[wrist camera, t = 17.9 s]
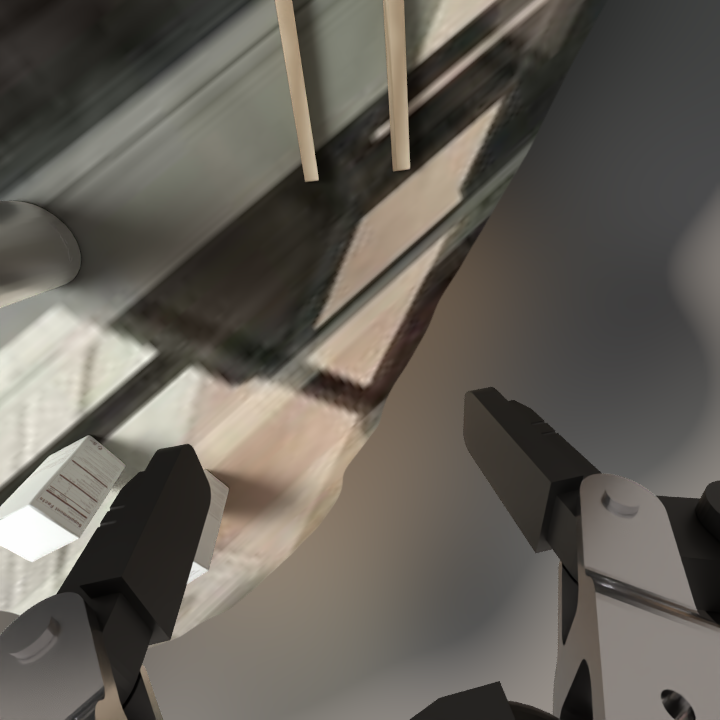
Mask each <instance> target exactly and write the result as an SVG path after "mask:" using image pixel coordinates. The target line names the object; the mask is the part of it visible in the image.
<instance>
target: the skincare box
mask: <svg viewBox="0 0 720 720" xmlns="http://www.w3.org/2000/svg"><path fill="white" fill-rule="evenodd" d="M204 473H205V475H206V477H207V479H208V482H209V484H210V489H211V503H210V507H209V511H208V514H207V518H206V521H205V524H204V528H203V531H202V534H201V538H200V541H199V545H198V548H197V551H196V555H195V558H194V561H193V565H192V568H191V572H190V575H189V578H188V582H187V584H188V583H190V582H191V581H193V580H195V579H196V578H198V577H199V576H201V575H202V574H204V573H206V572H207V571H209V567H210V563H211V559H212V555H213V551H214V547H215V543H216V539H217V536H218V532H219V528H220V524H221V520H222V516H223V512H224V508H225V504H226V500H227V496H228V492H229V488H228V487H227V486H226V485H225V484H223V483H222V482H221V481H220V480H218V479H217V478H216V477H215V476H213V475H212V474H211V473H210V472H208V471H207V470H204Z"/></svg>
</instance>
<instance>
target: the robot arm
mask: <svg viewBox="0 0 720 720" xmlns="http://www.w3.org/2000/svg"><path fill="white" fill-rule="evenodd" d="M80 265H81V254H80V249H79V246H78V244H77V241H76V239H75V238H74V236H73V234H72V233H71V231H70V230H69V229H68V228H67V227H66V225H65V224H64V223H63V222H61V221H60V220H59V219H58V218H57V217H56V216H54V215H53V214H51V213H50V212H48V211H47V210H45V209H43V208H40V207H38V206H36V205H33V204H30V203H26V202H20V201H0V308H3V307H5V306H8V305H11V304H14V303H16V302H19V301H22V300H24V299H27V298H30V297H33V296H35V295H38V294H41V293H44V292H47V291H49V290H52V289H54V288H57V287H60V286H62V285H65V284H67V283H69V282H70V281H71V280H73V279H74V277H75V276H76V275H77V274H78V271H79V269H80ZM464 402H465V403H464V427H463V435H464V440H465V444H466V447H467V449H468V451H469V453H470V454H471V456H472V457H473V459H474V460H475V462H476V464H477V465H478V466H479V468H480V469H481V471H482V473H483V474H484V476H485V477H486V479H487V480H488V482H489V483H490V485H491V486H492V488H493V489H494V491H495V492H496V494H497V495H498V497H499V498H500V500H501V501H502V503H503V504H504V506H505V507H506V509H507V510H508V512H509V513H510V515H511V516H512V518H513V519H514V521H515V522H516V524H517V525H518V527H519V528H520V530H521V531H522V533H523V535H524V536H525V538H526V539H527V541H528V542H529V544H530V545H531V546H532V548H533V550H534V551H535V553H539V552H543V551H547V550H551V549H553V550H554V552H555V553H556V555H557V556H558V557H559V559H560V561H559V566H558V652H557V664H556V671H555V678H554V689H553V714H550V713H547V712H545V711H543V710H540V709H538V708H535V707H533V706H530V705H526V704H522V703H518V702H513V701H508V700H507V698H506V696H505V693H504V691H503V688H502V686H501V683H500V681H499V682H495V683H491V684H488V685H484V686H481V687H477V688H474V689H470V690H466V691H463V692H459V693H455V694H452V695H448V696H445V697H442V698H439V699H437V700H436V701H434V702H433V703H432V704H430V705H429V706H428V707H426V708H425V709H424V710H422V711H421V712H420V713H418V714H417V715H415V716H414V717H413V718H411V719H410V720H720V481H715V482H712V483H710V484H709V485H708V486H707V487H706V489H705V491H704V493H703V495H702V496H701V498H700V499H697V498H681V497H667V496H655V495H654V494H653V493H652V492H650V491H649V490H648V489H646V488H645V487H643V486H642V485H640V484H638V483H636V482H634V481H632V480H630V479H627V478H625V477H621V476H618V475H613V474H604V473H603V474H602V473H601V472H600V471H599V470H598V469H596V468H595V467H594V466H593V465H592V464H591V463H590V462H589V461H588V460H587V459H586V458H584V457H583V456H582V455H581V454H580V453H579V452H578V451H577V450H576V449H575V448H574V447H572V446H571V445H570V444H569V443H568V442H567V441H566V440H565V439H564V438H563V437H562V436H560V435H559V434H558V433H555V430H554V429H553V428H552V427H550V425H548V424H547V423H544V420H543V419H542V418H541V417H539V415H537V414H536V413H535V412H534V411H533V410H532V409H531V408H529V407H527V406H525V405H523V404H521V403H519V402H517V401H515V400H511V401H507V400H506V399H505V398H504V397H503V396H502V395H501V394H500V393H499V392H498V391H497V390H496V389H495V388H493V387H488V388H483V389H478V390H473V391H468V392H467V393H466V394H465V401H464ZM210 503H211V489H210V484H209V482H208V479H207V477H206V475H205V473H204V470H203V468H202V466H201V464H200V462H199V459H198V457H197V455H196V453H195V451H194V449H193V447H192V446H191V445H190V444H185V445H179V446H174V447H169V448H164V449H159V450H157V451H156V453H155V454H154V456H153V458H152V459H151V461H150V463H149V464H148V466H147V468H146V470H145V471H143V472H139V473H138V474H137V475H136V476H135V477H134V478H133V479H131V480H130V481H129V482H128V483H127V484H126V485H125V486H124V487H123V488H122V489H121V491H120V492H119V494H118V495H117V497H116V499H115V500H114V502H113V503H112V505H111V507H110V511H108V512H107V513H106V515H105V516H104V518H103V520H102V521H101V523H100V524H101V526H100V527H98V528H97V529H96V531H95V533H94V534H93V536H92V537H91V539H90V541H89V542H88V544H87V546H86V547H85V549H84V550H83V552H82V554H81V555H80V557H79V559H78V560H77V562H76V563H75V565H74V567H73V568H72V570H71V572H70V573H69V575H68V576H67V578H66V580H65V581H64V583H63V584H62V586H61V588H60V589H59V591H58V592H57V594H56V595H54V596H51V597H49V598H47V599H45V600H43V601H41V602H39V603H37V604H36V605H34V606H32V607H31V608H30V609H28V610H27V611H25V612H24V613H23V614H21V615H20V616H19V617H18V618H17V619H16V620H14V621H13V622H12V623H11V624H10V625H9V626H8V627H7V628H6V629H5V630H4V631H3V632H2V634H0V720H163V717H162V715H161V711H160V709H159V706H158V703H157V700H156V697H155V694H154V691H153V688H152V685H151V683H150V680H149V677H148V674H147V671H146V669H145V667H144V665H143V664H142V663H143V660H144V657H145V654H146V651H147V648H148V645H152V644H156V643H160V642H164V641H168V640H170V639H171V636H172V632H173V629H174V626H175V622H176V619H177V615H178V612H179V609H180V605H181V602H182V599H183V595H184V592H185V588H186V585H187V582H188V578H189V575H190V572H191V568H192V565H193V561H194V558H195V555H196V551H197V548H198V545H199V541H200V538H201V534H202V531H203V528H204V524H205V521H206V518H207V514H208V511H209V507H210Z"/></svg>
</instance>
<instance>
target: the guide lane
mask: <svg viewBox="0 0 720 720" xmlns="http://www.w3.org/2000/svg"><path fill="white" fill-rule="evenodd" d="M275 4H276V10H277V16H278V22H279V28H280V34H281V40H282V46H283V52H284V58H285V64H286V70H287V76H288V82H289V88H290V94H291V100H292V106H293V112H294V118H295V124H296V130H297V136H298V142H299V148H300V154H301V160H302V166H303V172H304V178H305V182H312V181H318V180H319V177H318V171H317V164H316V157H315V151H314V144H313V137H312V131H311V124H310V117H309V111H308V104H307V97H306V91H305V84H304V77H303V71H302V64H301V57H300V51H299V44H298V37H297V31H296V24H295V17H294V11H293V4H292V0H275ZM383 8H384V25H385V43H386V60H387V77H388V94H389V112H390V129H391V146H392V163H393V171H401V170H407V169H410V153H409V126H408V99H407V72H406V45H405V18H404V0H383Z"/></svg>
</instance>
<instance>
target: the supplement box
mask: <svg viewBox="0 0 720 720" xmlns="http://www.w3.org/2000/svg"><path fill="white" fill-rule="evenodd" d="M125 467H126V465H125V464H124V463H123V462H122V461H121V460H119V459H118V458H117V457H116V456H115V455H113V454H112V453H111V452H110V451H109V450H108V449H106V448H105V447H104V446H103V445H102V444H100V443H99V442H98V441H97V440H95V439H94V438H93V437H92V436H90V435H88V436H86V437H84V438H82V439H80V440H78V441H76V442H75V443H73V444H71V445H69V446H67V447H65V448H63V449H61V450H59V451H58V452H56V453H54V454H52V455H50V456H49V457H48V458H47V459H46V460H45V461H44V462H43V463H42V464H41V465H40V466H39V467H38V468H37V469H36V470H35V471H34V472H33V473H32V475H31V476H30V477H29V478H28V479H27V480H26V481H25V482H24V483H23V484H22V485H21V486H20V487H19V488H18V489H17V490H16V491H15V492H14V493H13V494H12V495H11V496H10V497H9V498H8V499H7V500H6V501H5V502H4V504H3V505H2V506H1V507H0V545H1V546H2V547H4V548H6V549H8V550H10V551H12V552H13V553H15V554H17V555H19V556H21V557H23V558H24V559H26V560H28V561H31V562H34V561H36V560H37V559H39V558H41V557H43V556H45V555H47V554H49V553H51V552H53V551H55V550H57V549H59V548H61V547H63V546H65V545H67V544H69V543H71V542H73V541H75V540H77V539H79V538H80V536H81V535H82V533H83V532H84V530H85V529H86V527H87V525H88V524H89V522H90V521H91V519H92V518H93V516H94V515H95V513H96V512H97V510H98V509H99V507H100V506H101V504H102V502H103V501H104V499H105V498H106V496H107V495H108V493H109V492H110V490H111V488H112V487H113V485H114V484H115V482H116V481H117V479H118V478H119V476H120V474H121V473H122V471H123V470H124V468H125Z"/></svg>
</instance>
